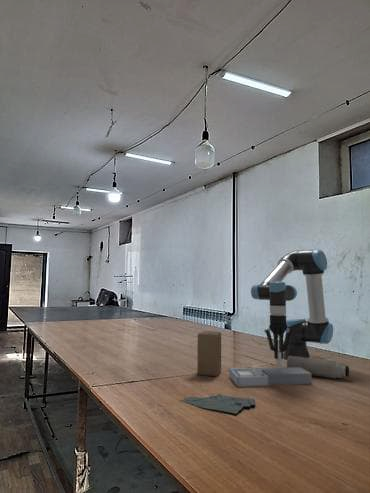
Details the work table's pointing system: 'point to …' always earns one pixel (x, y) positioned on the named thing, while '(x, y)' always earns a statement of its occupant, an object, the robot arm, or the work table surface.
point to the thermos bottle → (319, 367)
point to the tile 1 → (245, 374)
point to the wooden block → (209, 353)
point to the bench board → (288, 375)
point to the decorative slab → (222, 403)
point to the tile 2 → (256, 370)
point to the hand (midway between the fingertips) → (278, 365)
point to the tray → (248, 378)
